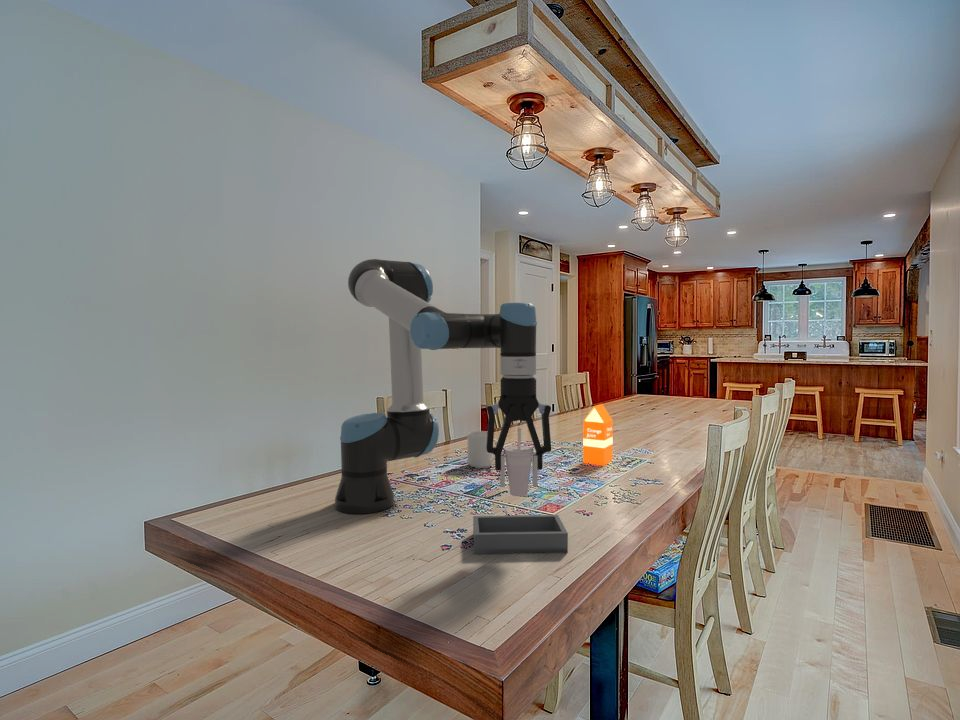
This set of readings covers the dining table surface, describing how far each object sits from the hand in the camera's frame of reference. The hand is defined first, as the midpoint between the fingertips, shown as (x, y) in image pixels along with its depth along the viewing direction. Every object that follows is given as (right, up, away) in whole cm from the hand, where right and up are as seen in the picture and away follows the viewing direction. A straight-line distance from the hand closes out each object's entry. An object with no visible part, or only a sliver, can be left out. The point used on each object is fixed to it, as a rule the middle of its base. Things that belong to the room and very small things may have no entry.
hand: (518, 484), depth 112 cm
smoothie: (0, -2, 0) cm, 2 cm away
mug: (-7, -10, +66) cm, 67 cm away
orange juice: (+33, -9, +73) cm, 80 cm away
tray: (0, -13, +1) cm, 13 cm away
